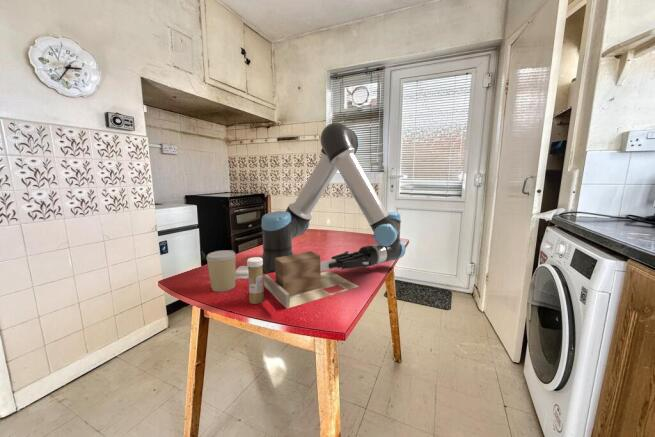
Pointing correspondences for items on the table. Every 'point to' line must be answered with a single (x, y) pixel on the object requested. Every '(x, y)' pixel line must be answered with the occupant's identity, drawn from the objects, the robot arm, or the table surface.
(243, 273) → the soap
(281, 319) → the table surface
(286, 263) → the block
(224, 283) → the coffee cup
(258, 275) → the sprinkles bottle
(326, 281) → the board
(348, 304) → the table surface
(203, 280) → the table surface
